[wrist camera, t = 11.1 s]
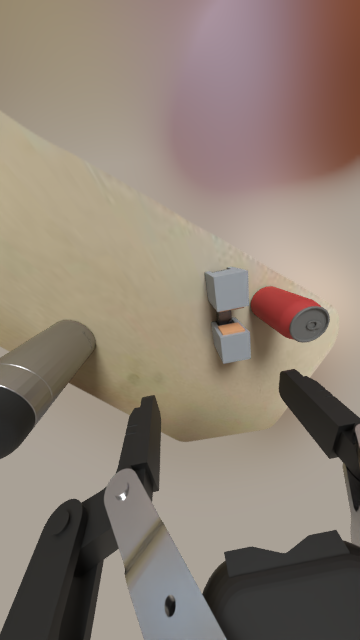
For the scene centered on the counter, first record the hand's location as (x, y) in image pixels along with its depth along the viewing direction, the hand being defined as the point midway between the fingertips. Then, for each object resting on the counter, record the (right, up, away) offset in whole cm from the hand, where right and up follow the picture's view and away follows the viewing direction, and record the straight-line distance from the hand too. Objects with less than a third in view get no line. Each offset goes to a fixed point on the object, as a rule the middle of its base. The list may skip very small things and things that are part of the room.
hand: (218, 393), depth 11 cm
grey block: (+7, +2, +26) cm, 27 cm away
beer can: (+15, +8, +24) cm, 30 cm away
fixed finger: (+5, +12, +22) cm, 25 cm away
